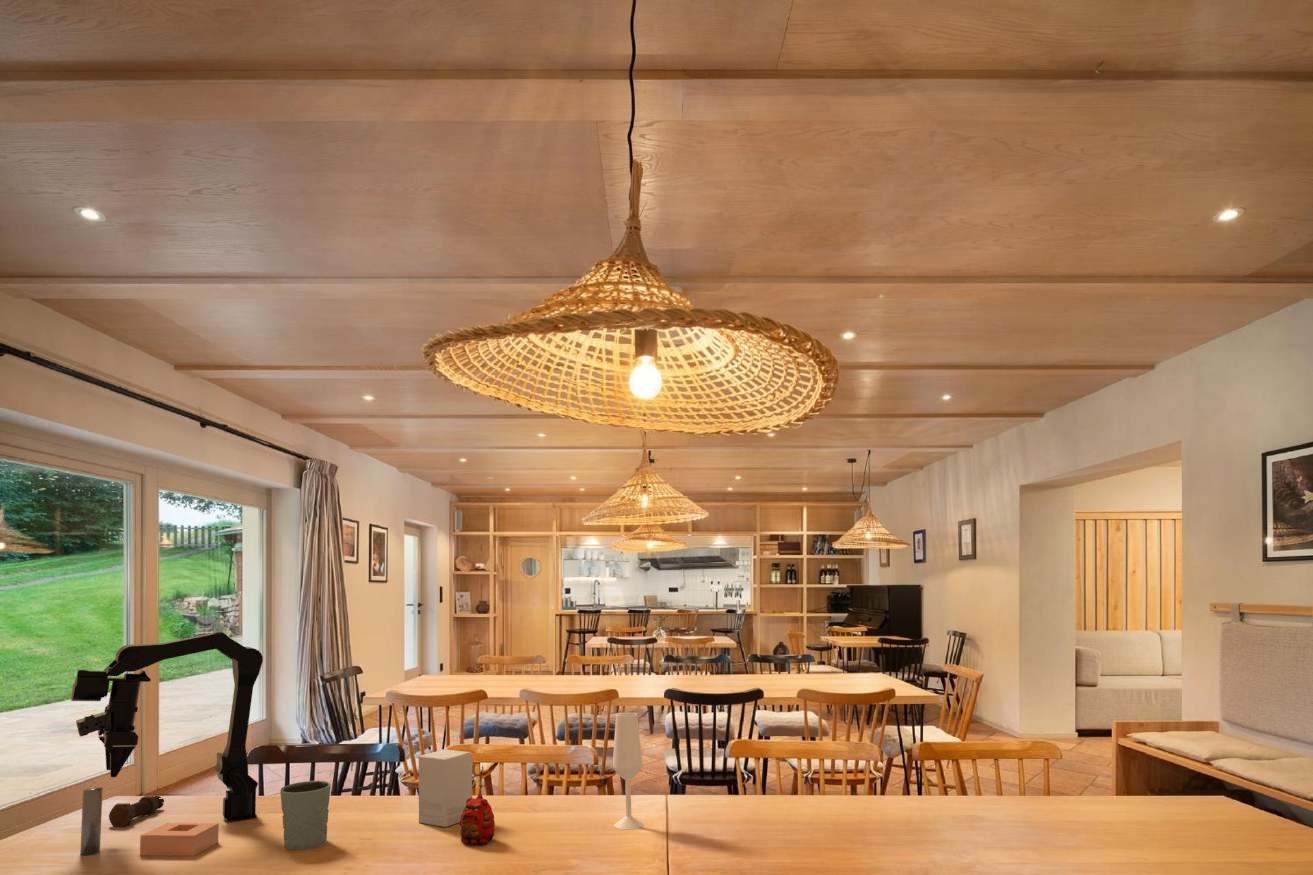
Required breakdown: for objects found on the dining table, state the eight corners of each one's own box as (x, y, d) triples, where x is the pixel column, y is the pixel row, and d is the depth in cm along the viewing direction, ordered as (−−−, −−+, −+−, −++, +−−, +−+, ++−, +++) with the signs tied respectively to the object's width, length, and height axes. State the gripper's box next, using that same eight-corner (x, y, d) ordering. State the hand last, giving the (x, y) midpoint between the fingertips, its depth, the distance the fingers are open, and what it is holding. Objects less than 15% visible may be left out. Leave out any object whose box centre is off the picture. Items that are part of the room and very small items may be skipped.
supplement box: (473, 818, 220) (473, 751, 222) (445, 827, 213) (445, 759, 215) (445, 813, 225) (445, 748, 227) (417, 822, 218) (417, 755, 219)
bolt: (160, 817, 235) (121, 833, 220) (144, 806, 236) (104, 821, 221) (173, 796, 236) (134, 810, 221) (157, 785, 236) (117, 799, 222)
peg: (99, 848, 204) (102, 785, 205) (100, 852, 201) (103, 789, 202) (80, 851, 202) (82, 788, 203) (80, 856, 199) (83, 791, 200)
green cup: (339, 838, 207) (340, 781, 208) (308, 853, 197) (309, 793, 199) (301, 835, 210) (302, 779, 211) (268, 849, 200) (269, 790, 202)
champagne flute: (608, 827, 210) (606, 716, 213) (621, 819, 216) (619, 711, 219) (636, 830, 207) (634, 717, 210) (648, 821, 213) (646, 712, 216)
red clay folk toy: (453, 844, 200) (453, 771, 202) (471, 835, 207) (470, 764, 209) (485, 847, 198) (484, 773, 199) (501, 838, 204) (501, 766, 206)
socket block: (166, 841, 207) (166, 822, 208) (218, 842, 206) (218, 823, 207) (139, 855, 199) (140, 835, 199) (193, 855, 197) (194, 835, 198)
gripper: (79, 696, 218) (66, 767, 215) (85, 706, 203) (72, 782, 200) (133, 697, 224) (122, 765, 222) (143, 706, 209) (131, 780, 206)
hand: (111, 773), depth 212 cm, fingers open, 9 cm apart
